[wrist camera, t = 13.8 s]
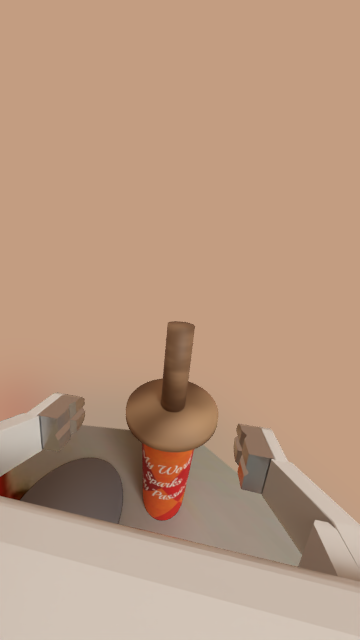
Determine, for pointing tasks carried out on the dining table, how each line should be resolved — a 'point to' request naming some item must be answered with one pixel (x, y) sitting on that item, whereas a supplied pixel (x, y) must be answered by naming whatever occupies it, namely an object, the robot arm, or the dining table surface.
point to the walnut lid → (173, 401)
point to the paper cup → (164, 480)
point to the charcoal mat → (81, 490)
